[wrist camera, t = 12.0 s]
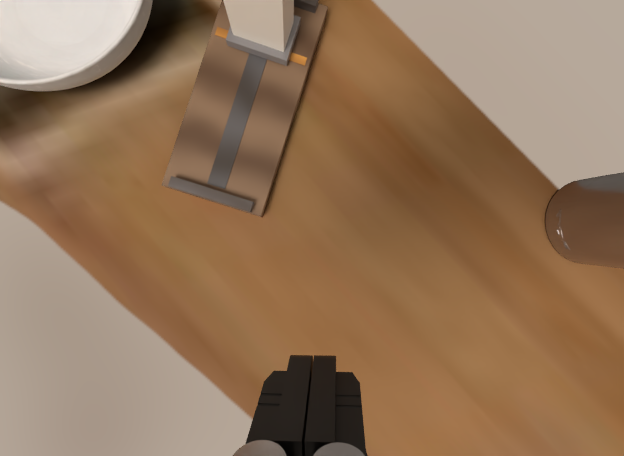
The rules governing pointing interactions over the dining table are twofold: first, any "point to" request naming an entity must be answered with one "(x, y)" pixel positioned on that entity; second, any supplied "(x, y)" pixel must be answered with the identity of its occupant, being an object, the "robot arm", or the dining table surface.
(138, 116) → the dining table surface
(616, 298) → the dining table surface
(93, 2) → the serving bowl
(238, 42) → the block
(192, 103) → the brown flat rectangular board
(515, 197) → the dining table surface
